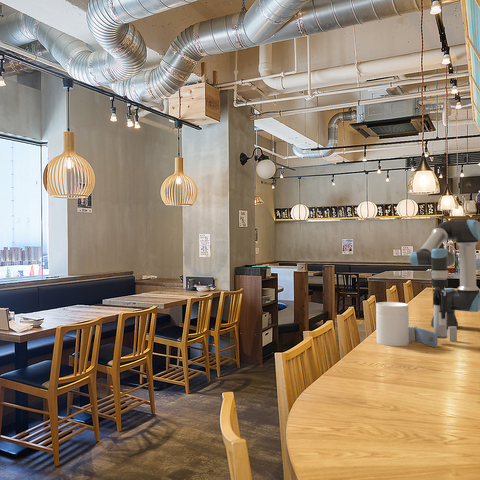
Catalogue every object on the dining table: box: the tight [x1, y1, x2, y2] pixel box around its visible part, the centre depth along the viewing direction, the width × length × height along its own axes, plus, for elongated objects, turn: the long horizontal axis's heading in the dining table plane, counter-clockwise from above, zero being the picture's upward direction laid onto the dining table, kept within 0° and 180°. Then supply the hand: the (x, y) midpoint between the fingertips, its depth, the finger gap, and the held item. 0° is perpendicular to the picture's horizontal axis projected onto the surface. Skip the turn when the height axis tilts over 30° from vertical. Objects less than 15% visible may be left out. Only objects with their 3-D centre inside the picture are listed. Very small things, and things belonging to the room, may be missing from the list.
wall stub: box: [447, 327, 458, 343], centre depth 232 cm, size 4×2×8 cm, turn 85°
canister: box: [375, 301, 410, 347], centre depth 231 cm, size 16×16×20 cm
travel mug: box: [432, 297, 448, 340], centre depth 227 cm, size 6×7×20 cm
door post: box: [409, 325, 415, 343], centre depth 234 cm, size 3×3×8 cm
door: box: [413, 325, 438, 348], centre depth 226 cm, size 17×3×7 cm, turn 13°
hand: (440, 323), depth 227 cm, fingers closed on travel mug, 6 cm apart
